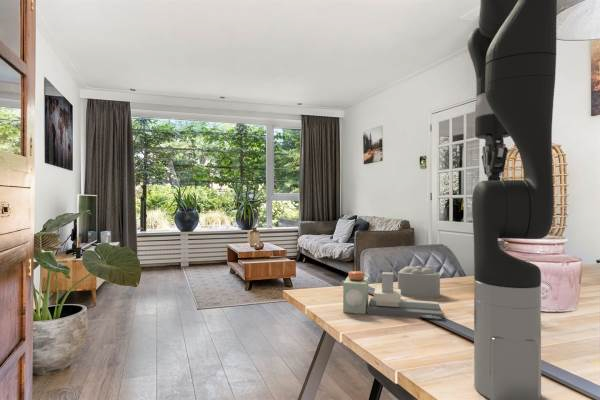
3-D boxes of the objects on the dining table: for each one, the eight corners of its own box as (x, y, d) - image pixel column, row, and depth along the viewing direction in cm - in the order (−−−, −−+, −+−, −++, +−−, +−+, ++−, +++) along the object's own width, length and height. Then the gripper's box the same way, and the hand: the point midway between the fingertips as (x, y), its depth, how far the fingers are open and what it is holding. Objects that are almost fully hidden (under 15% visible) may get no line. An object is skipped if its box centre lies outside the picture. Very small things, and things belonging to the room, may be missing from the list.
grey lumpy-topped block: (401, 288, 133) (401, 263, 133) (441, 292, 127) (441, 266, 127) (396, 295, 123) (396, 268, 123) (438, 299, 118) (438, 271, 118)
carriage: (400, 308, 101) (400, 276, 101) (373, 306, 102) (373, 274, 103) (400, 301, 107) (400, 271, 108) (375, 299, 109) (375, 270, 109)
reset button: (363, 298, 104) (363, 274, 105) (347, 297, 106) (347, 273, 106) (364, 294, 109) (364, 271, 109) (349, 293, 110) (349, 270, 110)
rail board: (442, 319, 97) (442, 308, 97) (367, 313, 101) (367, 302, 101) (438, 309, 106) (438, 298, 106) (370, 304, 111) (370, 294, 111)
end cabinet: (365, 314, 101) (365, 284, 101) (343, 312, 103) (343, 282, 103) (368, 304, 111) (368, 277, 111) (348, 302, 113) (348, 275, 113)
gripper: (522, 107, 77) (522, 192, 77) (504, 121, 90) (504, 194, 89) (481, 109, 79) (481, 192, 78) (470, 122, 92) (470, 194, 91)
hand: (493, 193), depth 84 cm, fingers closed
